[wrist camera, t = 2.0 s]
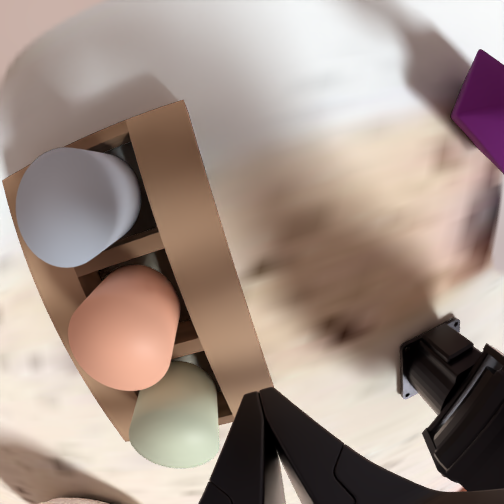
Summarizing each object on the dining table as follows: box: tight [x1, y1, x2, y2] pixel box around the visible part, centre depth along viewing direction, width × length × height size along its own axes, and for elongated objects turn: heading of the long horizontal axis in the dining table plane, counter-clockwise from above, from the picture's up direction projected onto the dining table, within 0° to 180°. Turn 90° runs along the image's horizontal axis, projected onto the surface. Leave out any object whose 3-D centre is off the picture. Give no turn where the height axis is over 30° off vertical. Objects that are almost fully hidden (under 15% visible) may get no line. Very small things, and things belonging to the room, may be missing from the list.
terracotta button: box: [68, 265, 180, 391], centre depth 15 cm, size 5×5×5 cm
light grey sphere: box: [16, 147, 141, 268], centre depth 14 cm, size 5×5×5 cm
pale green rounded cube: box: [129, 361, 220, 469], centre depth 17 cm, size 5×5×5 cm
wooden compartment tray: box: [2, 100, 274, 442], centre depth 19 cm, size 20×12×3 cm, turn 16°
